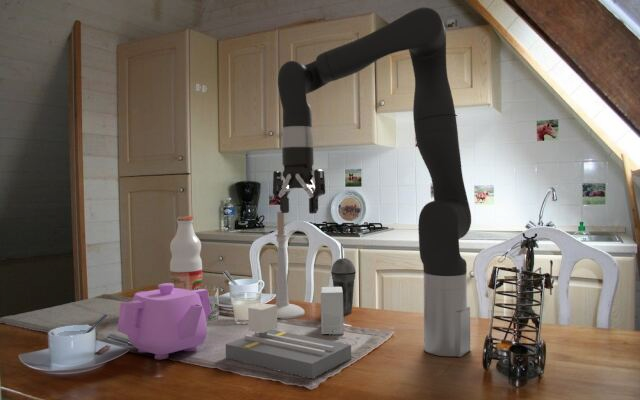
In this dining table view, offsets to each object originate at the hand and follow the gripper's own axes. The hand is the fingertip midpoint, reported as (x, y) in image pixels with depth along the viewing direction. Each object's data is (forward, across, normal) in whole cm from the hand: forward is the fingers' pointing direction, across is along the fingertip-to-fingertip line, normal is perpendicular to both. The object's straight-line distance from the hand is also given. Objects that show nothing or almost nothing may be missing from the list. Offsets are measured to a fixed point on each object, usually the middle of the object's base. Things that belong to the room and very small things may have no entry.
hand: (298, 213), depth 129 cm
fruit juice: (+30, +46, -4) cm, 55 cm away
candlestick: (+30, +18, -15) cm, 38 cm away
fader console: (+30, -8, +15) cm, 35 cm away
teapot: (+30, +19, +25) cm, 44 cm away
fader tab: (+27, -1, +15) cm, 31 cm away
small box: (+30, -4, -8) cm, 32 cm away
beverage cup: (+30, +4, -26) cm, 40 cm away
